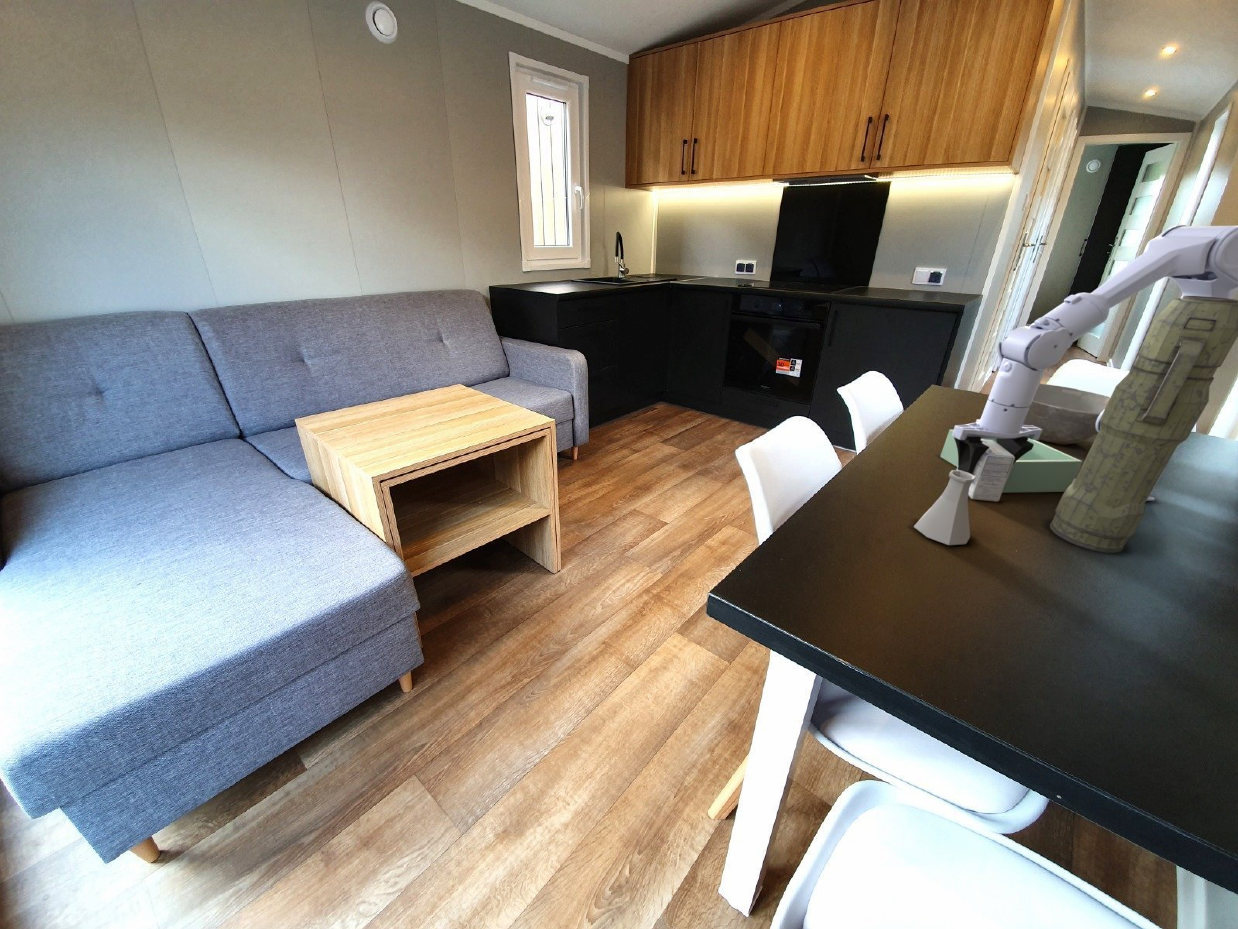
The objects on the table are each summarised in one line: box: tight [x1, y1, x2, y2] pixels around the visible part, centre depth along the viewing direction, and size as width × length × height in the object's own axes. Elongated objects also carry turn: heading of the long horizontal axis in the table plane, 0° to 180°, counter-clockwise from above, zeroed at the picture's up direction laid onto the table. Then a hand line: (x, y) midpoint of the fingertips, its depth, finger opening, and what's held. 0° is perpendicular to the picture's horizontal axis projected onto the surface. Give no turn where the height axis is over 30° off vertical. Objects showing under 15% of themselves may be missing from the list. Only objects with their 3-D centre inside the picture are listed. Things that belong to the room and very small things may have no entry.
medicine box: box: [956, 439, 1015, 503], centre depth 86 cm, size 8×4×9 cm, turn 168°
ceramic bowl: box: [1023, 383, 1111, 445], centre depth 112 cm, size 22×23×10 cm
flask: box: [913, 469, 976, 546], centre depth 73 cm, size 7×7×10 cm
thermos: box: [1049, 296, 1238, 554], centre depth 68 cm, size 9×12×35 cm
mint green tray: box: [940, 428, 1083, 494], centre depth 94 cm, size 14×16×6 cm
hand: (979, 475), depth 87 cm, fingers closed on medicine box, 6 cm apart
